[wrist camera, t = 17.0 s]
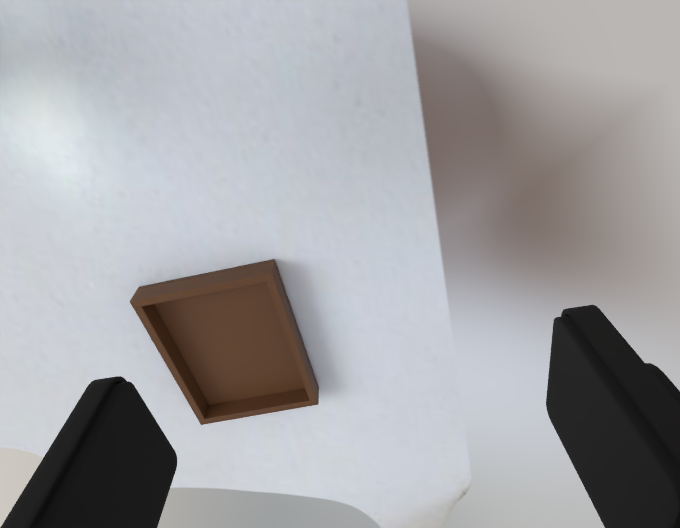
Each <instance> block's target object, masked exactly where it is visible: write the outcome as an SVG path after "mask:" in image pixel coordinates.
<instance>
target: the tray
mask: <svg viewBox="0 0 680 528" xmlns="http://www.w3.org/2000/svg"><path fill="white" fill-rule="evenodd" d="M130 303H131V305H132V306H133V308H134V309H135V311H136V313H137V315H138V316H139V318H140V320H141V322H142V323H143V325H144V327H145V328H146V330H147V332H148V334H149V335H150V337H151V339H152V341H153V342H154V344H155V346H156V347H157V349H158V351H159V353H160V354H161V356H162V358H163V360H164V361H165V363H166V365H167V367H168V368H169V370H170V372H171V373H172V375H173V377H174V379H175V380H176V382H177V384H178V386H179V387H180V389H181V391H182V393H183V394H184V396H185V398H186V399H187V401H188V403H189V405H190V406H191V408H192V410H193V412H194V413H195V415H196V417H197V418H198V420H199V422H200V424H201V425H203V424H208V423H214V422H220V421H226V420H231V419H237V418H243V417H249V416H254V415H260V414H266V413H271V412H277V411H283V410H289V409H294V408H300V407H306V406H312V405H317V404H318V398H319V387H318V385H317V382H316V379H315V376H314V373H313V370H312V367H311V364H310V361H309V358H308V355H307V352H306V350H305V347H304V344H303V341H302V338H301V335H300V332H299V329H298V326H297V323H296V320H295V317H294V315H293V312H292V309H291V306H290V303H289V300H288V297H287V294H286V291H285V288H284V285H283V282H282V280H281V277H280V274H279V271H278V268H277V265H276V262H275V259H274V260H269V261H264V262H259V263H254V264H249V265H244V266H239V267H235V268H230V269H225V270H220V271H215V272H210V273H205V274H200V275H195V276H191V277H186V278H181V279H176V280H171V281H166V282H161V283H156V284H151V285H146V286H142V287H139V288H138V290H137V291H136V293H135V294H134V296H133V297H132V299H131V300H130Z"/></svg>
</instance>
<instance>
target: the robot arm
mask: <svg viewBox="0 0 680 528" xmlns="http://www.w3.org/2000/svg"><path fill="white" fill-rule="evenodd" d="M546 405H547V411H548V415H549V418H550V420H551V422H552V424H553V426H554V428H555V430H556V432H557V434H558V436H559V438H560V440H561V442H562V444H563V446H564V448H565V450H566V452H567V454H568V455H569V457H570V459H571V461H572V463H573V465H574V467H575V469H576V471H577V473H578V475H579V477H580V479H581V481H582V483H583V485H584V487H585V489H586V491H587V493H588V495H589V497H590V499H591V501H592V503H593V505H594V507H595V509H596V511H597V513H598V514H599V517H600V519H601V521H602V522H603V524H604V526H605V528H680V391H679V390H678V389H677V388H676V387H675V385H674V384H673V383H672V382H671V381H670V380H669V379H668V377H667V376H666V375H665V374H664V373H663V372H662V371H661V370H660V369H659V368H658V367H656V366H654V365H652V364H650V363H648V364H647V363H644V362H643V361H642V359H641V358H640V357H639V356H638V355H637V354H636V352H635V351H634V350H633V349H632V347H631V346H630V345H629V344H628V343H627V342H626V340H625V339H624V338H623V337H622V336H621V334H620V333H619V332H618V331H617V330H616V328H615V327H614V326H613V325H612V324H611V322H610V321H609V320H608V319H607V318H606V316H605V315H604V314H603V313H602V312H601V310H600V309H599V308H597V306H595V305H589V306H582V307H575V308H569V309H564V310H563V312H562V315H561V317H557V318H555V319H554V324H553V334H552V346H551V356H550V368H549V378H548V390H547V399H546ZM176 467H177V456H176V453H175V451H174V449H173V448H172V446H171V444H170V443H169V441H168V440H167V438H166V436H165V435H164V433H163V432H162V430H161V428H160V427H159V425H158V424H157V422H156V420H155V419H154V417H153V415H152V414H151V412H150V411H149V409H148V407H147V406H146V404H145V403H144V401H143V399H142V398H141V396H140V395H139V393H138V391H137V390H136V388H135V387H134V385H133V384H132V383H131V382H127V381H126V380H125V379H124V378H123V377H121V376H120V377H111V378H105V379H98V380H94V381H92V382H91V383H90V384H89V385H88V387H87V388H86V390H85V392H84V393H83V395H82V397H81V398H80V400H79V401H78V403H77V405H76V406H75V408H74V410H73V411H72V413H71V414H70V416H69V418H68V419H67V421H66V422H65V424H64V426H63V427H62V429H61V431H60V432H59V434H58V435H57V437H56V439H55V440H54V442H53V444H52V445H51V447H50V448H49V450H48V452H47V453H46V455H45V457H44V458H43V460H42V462H41V463H40V465H39V466H38V468H37V470H36V471H35V473H34V474H33V476H32V478H31V479H30V481H29V483H28V484H27V486H26V487H25V489H24V491H23V492H22V494H21V495H20V497H19V499H18V500H17V502H16V504H15V505H14V507H13V508H12V511H11V512H10V513H9V515H8V517H7V518H6V520H5V522H4V523H3V525H2V526H1V528H157V526H158V523H159V520H160V517H161V513H162V511H163V507H164V504H165V501H166V498H167V495H168V492H169V489H170V486H171V483H172V480H173V477H174V474H175V471H176Z"/></svg>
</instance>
